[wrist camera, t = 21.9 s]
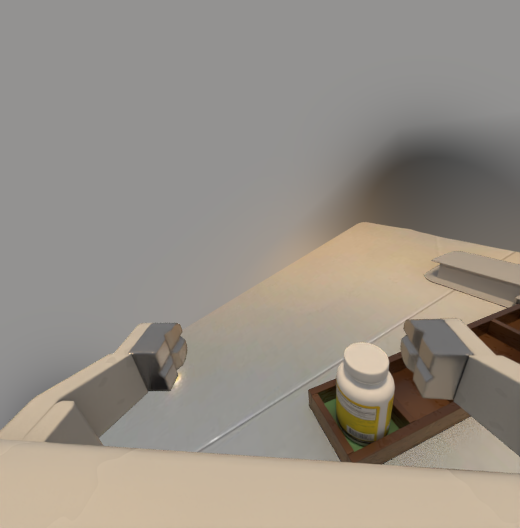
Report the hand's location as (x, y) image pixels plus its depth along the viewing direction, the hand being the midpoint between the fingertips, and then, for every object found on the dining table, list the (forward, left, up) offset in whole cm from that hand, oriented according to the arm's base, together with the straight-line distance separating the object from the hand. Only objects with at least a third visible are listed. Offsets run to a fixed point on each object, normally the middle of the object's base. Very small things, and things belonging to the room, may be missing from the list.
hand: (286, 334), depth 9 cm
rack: (+20, +18, -23) cm, 35 cm away
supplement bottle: (+7, +11, -23) cm, 26 cm away
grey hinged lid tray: (+40, +39, -23) cm, 60 cm away
